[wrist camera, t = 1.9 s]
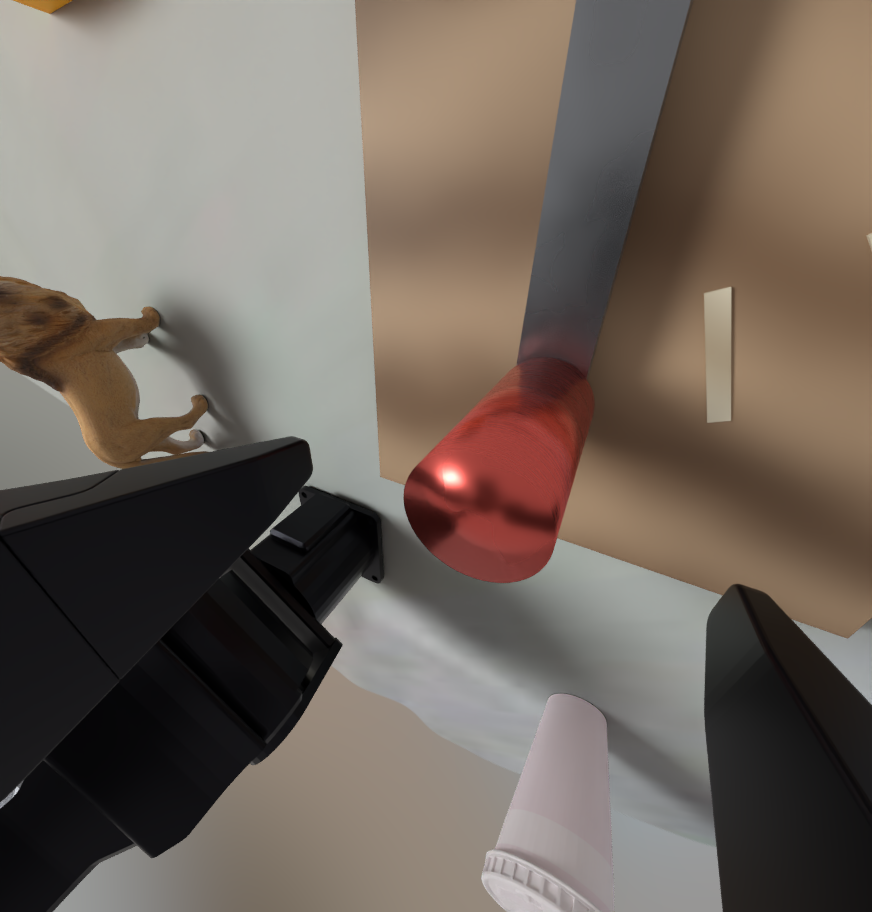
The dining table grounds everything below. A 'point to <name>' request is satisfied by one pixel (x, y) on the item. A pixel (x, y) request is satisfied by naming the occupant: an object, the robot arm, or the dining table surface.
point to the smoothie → (558, 819)
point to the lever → (555, 305)
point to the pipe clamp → (45, 4)
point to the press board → (647, 281)
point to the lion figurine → (90, 371)
